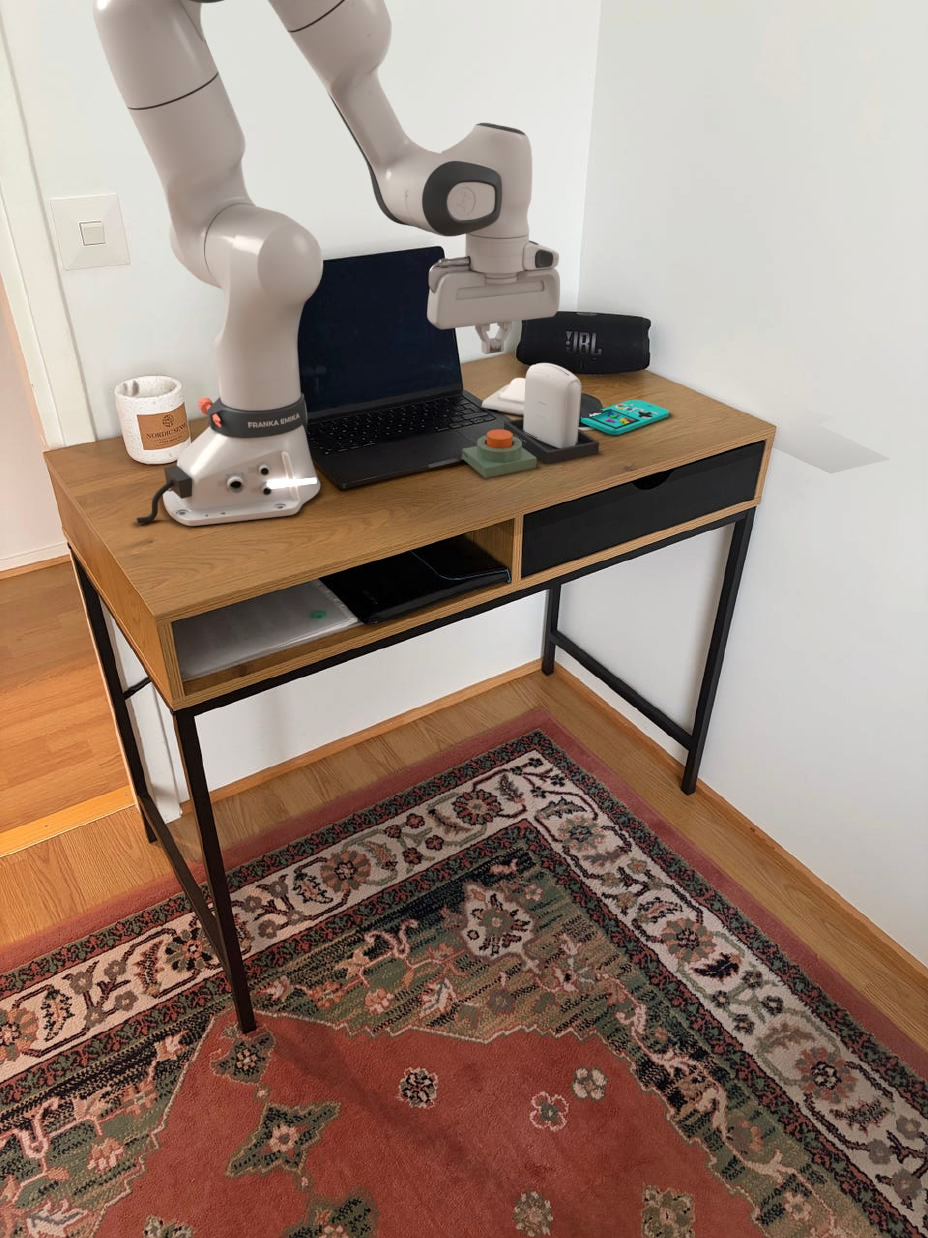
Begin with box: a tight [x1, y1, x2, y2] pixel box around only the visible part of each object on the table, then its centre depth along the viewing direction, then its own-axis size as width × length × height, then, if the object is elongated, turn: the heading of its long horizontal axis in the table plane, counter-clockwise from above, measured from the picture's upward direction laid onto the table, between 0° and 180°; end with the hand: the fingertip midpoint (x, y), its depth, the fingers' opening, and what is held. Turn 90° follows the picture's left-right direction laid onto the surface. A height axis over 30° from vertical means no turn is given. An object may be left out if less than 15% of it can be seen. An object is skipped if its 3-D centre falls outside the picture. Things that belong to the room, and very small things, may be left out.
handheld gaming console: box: [580, 399, 670, 436], centre depth 159 cm, size 8×1×15 cm
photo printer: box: [523, 362, 582, 449], centre depth 146 cm, size 10×4×12 cm, turn 39°
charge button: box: [486, 428, 513, 449], centre depth 141 cm, size 4×4×2 cm
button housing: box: [461, 434, 538, 479], centre depth 142 cm, size 9×8×4 cm
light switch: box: [481, 377, 526, 416], centre depth 163 cm, size 11×4×13 cm
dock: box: [503, 417, 600, 465], centre depth 149 cm, size 10×14×2 cm
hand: (492, 352), depth 135 cm, fingers closed
